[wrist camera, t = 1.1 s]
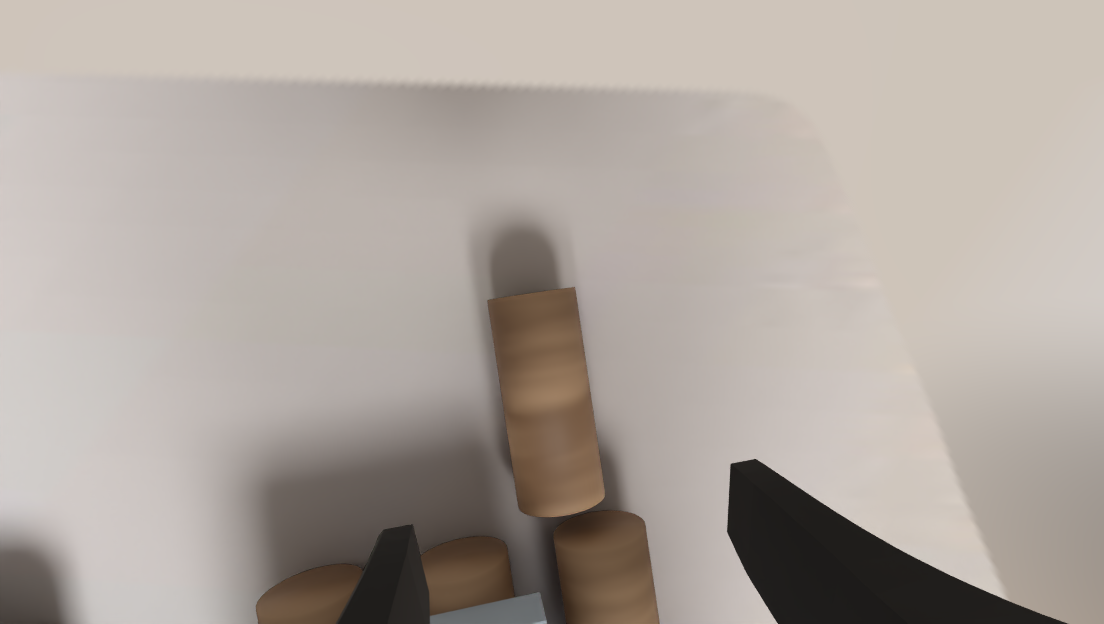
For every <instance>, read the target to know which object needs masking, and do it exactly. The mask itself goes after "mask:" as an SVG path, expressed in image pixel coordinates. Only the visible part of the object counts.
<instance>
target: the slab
mask: <svg viewBox="0 0 1104 624" xmlns="http://www.w3.org/2000/svg"><path fill="white" fill-rule="evenodd" d="M430 624H547V621H546V616H545V612H544V607H543V603H542V599H541V594H540V592H538V593H533V594H528V595H524V596H519V597H515V598H510V599H506V600H501V601H496V602H492V603H487V604H483V605H478V606H473V607H469V608H464V609H460V610H455V611H451V612H446V613H441V614H437V615H432V616H430Z"/></svg>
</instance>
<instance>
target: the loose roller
mask: <svg viewBox="0 0 1104 624" xmlns="http://www.w3.org/2000/svg"><path fill="white" fill-rule="evenodd" d="M487 301H488V308H489V315H490V321H491V328H492V335H493V341H494V348H495V355H496V361H497V368H498V375H499V381H500V388H501V395H502V401H503V408H504V415H505V421H506V428H507V435H508V441H509V448H510V454H511V461H512V468H513V474H514V481H515V488H516V494H517V501H518V507H519V510H520V511H521V512H523V513H524V514H527V515H530V516H536V517H558V516H565V515H570V514H575V513H578V512H582V511H585V510H587V509H590V508H592V507H594V506H595V505H597V504H598V503H600V502H601V501H602V500H603V499H604V497H605V489H604V482H603V475H602V468H601V461H600V455H599V448H598V441H597V434H596V427H595V421H594V414H593V407H592V400H591V393H590V386H589V380H588V373H587V366H586V359H585V352H584V345H583V339H582V332H581V325H580V318H579V311H578V305H577V298H576V291H575V287H572V288H564V289H556V290H549V291H542V292H535V293H528V294H522V295H515V296H509V297H502V298H496V299H490V300H487Z"/></svg>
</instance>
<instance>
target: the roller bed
mask: <svg viewBox="0 0 1104 624" xmlns="http://www.w3.org/2000/svg"><path fill="white" fill-rule="evenodd" d="M553 538H554V545H555V551H556V558H557V565H558V572H559V578H560V585H561V592H562V598H563V605H564V612H565V618H566V624H660V623H659V616H658V609H657V602H656V595H655V589H654V582H653V575H652V568H651V561H650V554H649V547H648V540H647V533H646V526H645V522H644V521H643V519H642V518H640V517H639V516H637V515H635V514H632V513H629V512H624V511H612V510H610V511H596V512H590V513H586V514H582V515H579V516H576V517H573V518H571V519H569V520H567V521H565V522H563V523H562V524H560V525H559V526H558V527H557V528H556V530H555V531H554V534H553ZM420 557H421V561H422V565H423V569H424V573H425V577H426V581H427V585H428V589H429V600H430V616H432V615H437V614H441V613H446V612H451V611H455V610H460V609H464V608H469V607H473V606H478V605H483V604H487V603H492V602H496V601H501V600H506V599H510V598H515V595H514V589H513V582H512V575H511V569H510V562H509V556H508V549H507V545H506V544H505V543H504V542H503V541H501V540H500V539H497V538H493V537H485V536H477V537H467V538H461V539H457V540H453V541H449V542H446V543H443V544H441V545H438V546H436V547H434V548H432V549H430V550H428V551H427V552H425V553H424V554H422V555H421V556H420ZM361 574H362V570H361V568H359V567H358V566H355V565H351V564H334V565H327V566H322V567H318V568H314V569H311V570H308V571H305V572H302V573H299V574H297V575H294V576H292V577H290V578H288V579H286V580H284V581H282V582H280V583H279V584H277V585H275V586H274V587H272V588H271V589H269V590H268V591H267V592H266V593H265V594H264V595H263V596H262V597H261V598H260V599H259V601H258V602H257V605H256V612H257V618H258V624H336V622H337V620H338V619H339V617H340V615H341V613H342V611H343V609H344V607H345V605H346V604H347V602H348V600H349V598H350V596H351V594H352V592H353V590H354V588H355V586H356V584H357V582H358V580H359V578H360V576H361Z"/></svg>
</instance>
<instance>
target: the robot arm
mask: <svg viewBox="0 0 1104 624" xmlns="http://www.w3.org/2000/svg"><path fill="white" fill-rule="evenodd" d="M727 532H728V535H729V537H730V539H731V541H732V543H733V546H734V548H735V550H736V552H737V554H738V556H739V558H740V560H741V563H742V565H743V567H744V569H745V571H746V573H747V575H748V576H749V578H750V580H751V581H752V583H753V585H754V586H755V588H756V589H757V591H758V593H759V594H760V596H761V598H762V599H763V601H764V602H765V604H766V606H767V607H768V609H769V610H770V612H771V614H772V615H773V617H774V618H775V620H776V622H777V623H778V624H1067V623H1064V622H1061V621H1059V620H1056V619H1053V618H1051V617H1048V616H1045V615H1042V614H1040V613H1037V612H1035V611H1032V610H1030V609H1027V608H1024V607H1022V606H1019V605H1017V604H1014V603H1012V602H1009V601H1007V600H1005V599H1002V598H1000V597H998V596H995V595H993V594H991V593H988V592H986V591H984V590H981V589H979V588H977V587H975V586H972V585H970V584H968V583H966V582H963V581H961V580H959V579H957V578H955V577H953V576H950V575H948V574H946V573H944V572H942V571H940V570H938V569H936V568H934V567H932V566H930V565H928V564H926V563H924V562H922V561H920V560H918V559H916V558H914V557H912V556H910V555H909V554H907V553H905V552H903V551H901V550H899V549H897V548H896V547H894V546H892V545H890V544H888V543H887V542H885V541H883V540H881V539H880V538H878V537H876V536H875V535H873V534H871V533H869V532H868V531H866V530H864V529H862V528H861V527H859V526H858V525H856V524H854V523H853V522H851V521H849V520H848V519H846V518H845V517H843V516H841V515H840V514H838V513H837V512H835V511H833V510H832V509H830V508H829V507H827V506H826V505H824V504H823V503H821V502H820V501H818V500H816V499H815V498H813V497H812V496H810V495H809V494H807V493H806V492H804V491H803V490H801V489H800V488H798V487H797V486H795V485H794V484H793V483H791V482H790V481H788V480H787V479H785V478H784V477H782V476H781V475H779V474H778V473H776V472H775V471H773V470H772V469H770V468H769V467H767V466H766V465H764V464H763V463H761V462H760V461H758V460H756V459H753V460H748V461H743V462H737V463H732V464H731V467H730V487H729V506H728V525H727ZM336 624H430V600H429V589H428V585H427V581H426V577H425V573H424V569H423V565H422V561H421V557H420V552H419V548H418V544H417V540H416V536H415V532H414V528H413V524H411V525H406V526H401V527H395V528H390V529H385V530H383V531H382V532H381V534H380V535H379V537H378V539H377V542H376V544H375V546H374V549H373V551H372V553H371V555H370V557H369V560H368V562H367V564H366V566H365V568H364V570H363V572H362V574H361V576H360V578H359V580H358V582H357V584H356V586H355V588H354V590H353V592H352V594H351V596H350V598H349V600H348V602H347V604H346V605H345V607H344V609H343V611H342V613H341V615H340V617H339V619H338V620H337V622H336Z"/></svg>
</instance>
